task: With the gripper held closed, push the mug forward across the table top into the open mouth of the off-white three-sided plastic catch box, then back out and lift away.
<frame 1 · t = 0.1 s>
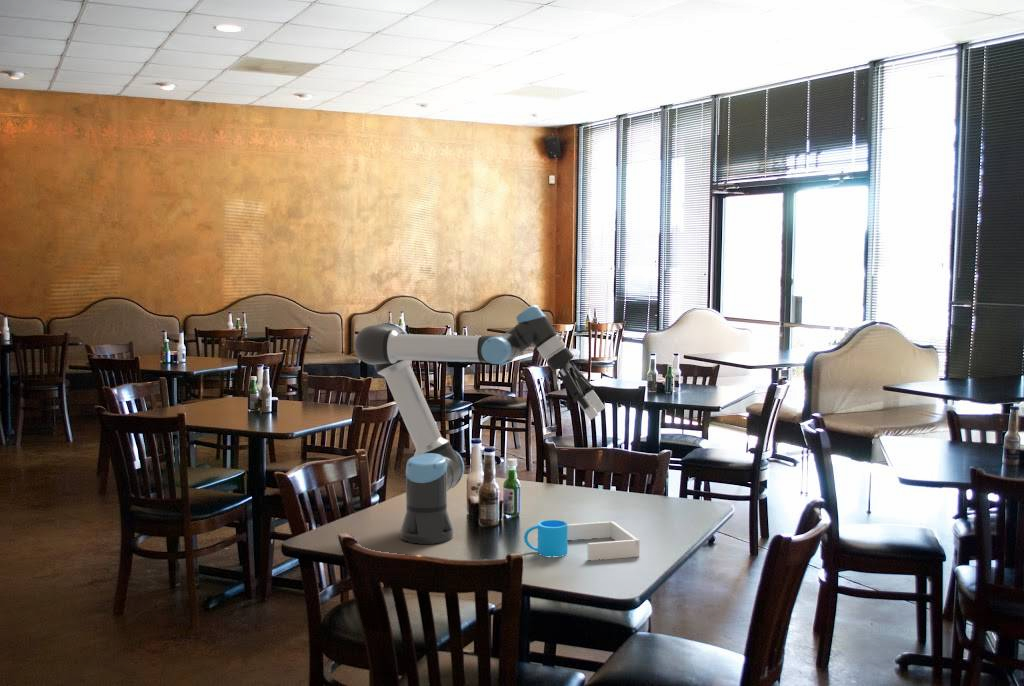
hand: (598, 413, 277), 36 cm above the table, tool tilted 35°, fingers open, 13 cm apart
mug: (545, 553, 263), on the table
catch box: (600, 548, 267), on the table
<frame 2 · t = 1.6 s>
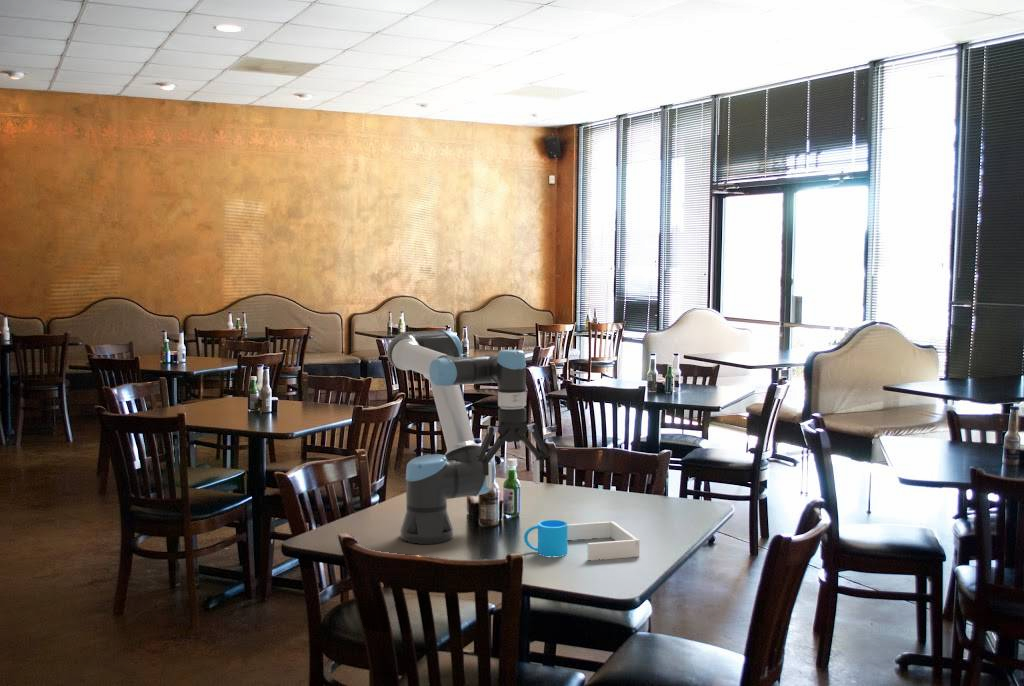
hand: (513, 485, 260), 19 cm above the table, tool pointing down, fingers open, 13 cm apart
nothing on the table moved.
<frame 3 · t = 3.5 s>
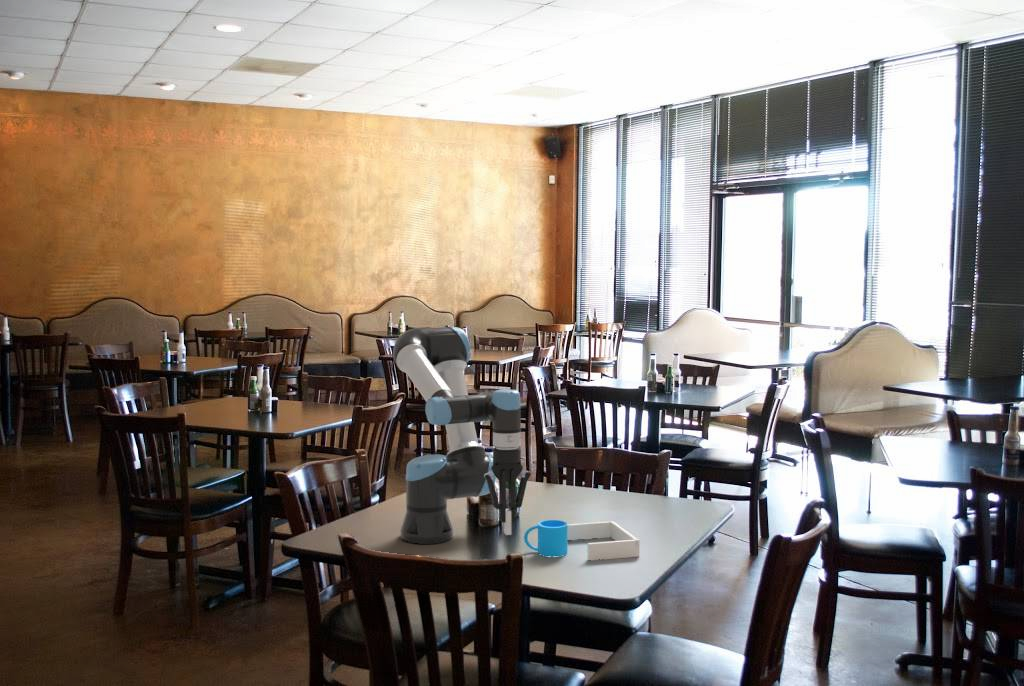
hand: (507, 533, 260), 6 cm above the table, tool pointing down, fingers closed
nothing on the table moved.
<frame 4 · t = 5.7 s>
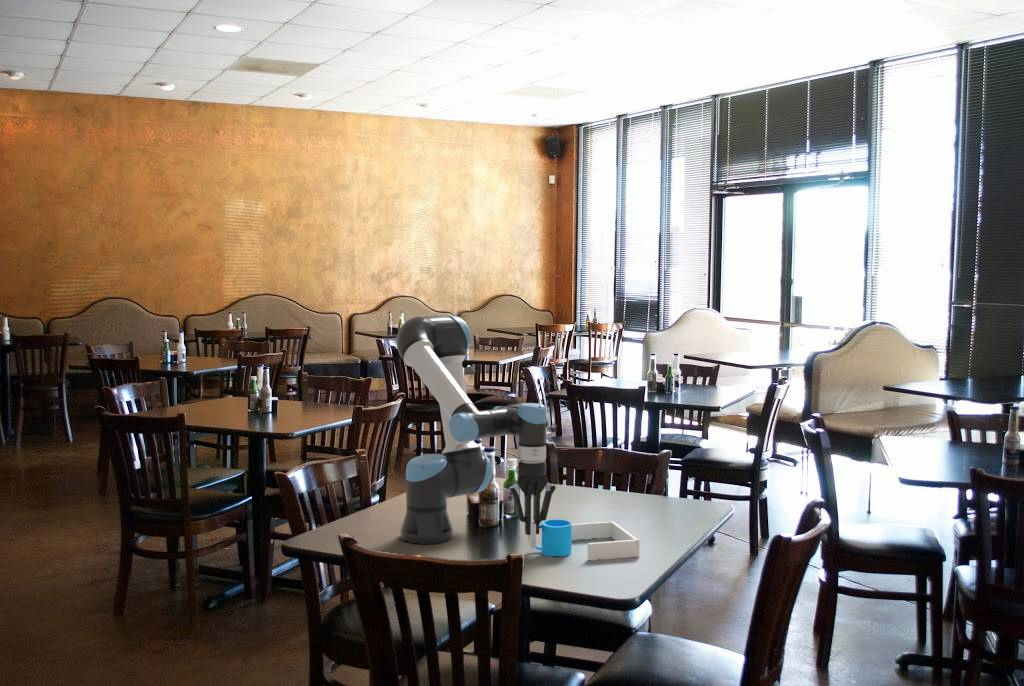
hand: (532, 546, 262), 2 cm above the table, tool pointing down, fingers closed
mug: (549, 552, 263), on the table, touching gripper
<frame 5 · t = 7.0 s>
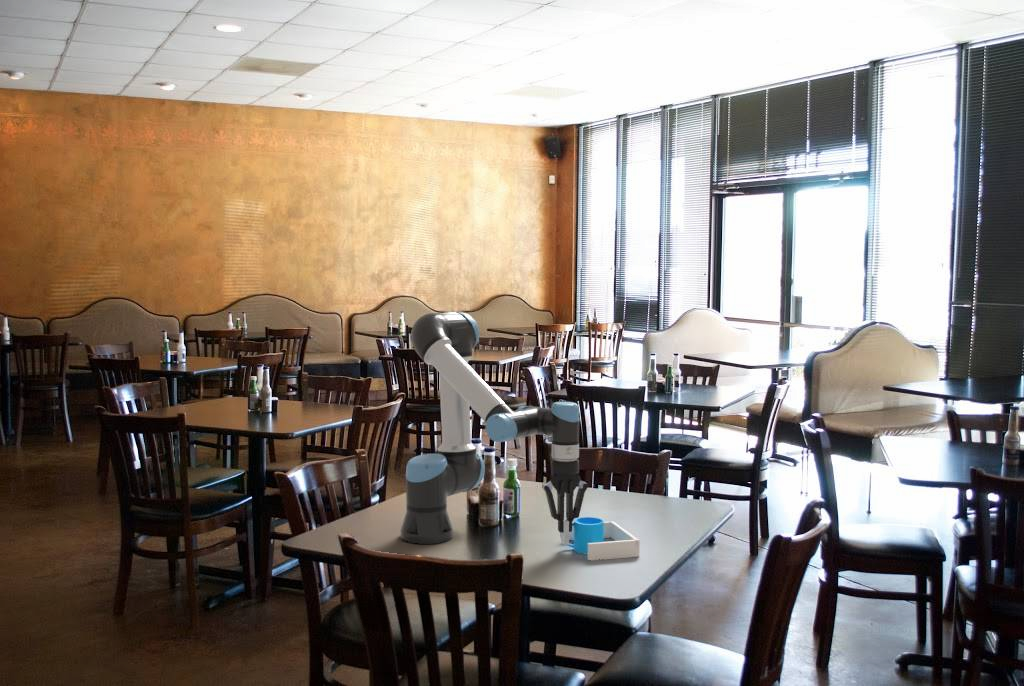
hand: (565, 543, 264), 2 cm above the table, tool pointing down, fingers closed
mug: (581, 550, 266), on the table, touching gripper
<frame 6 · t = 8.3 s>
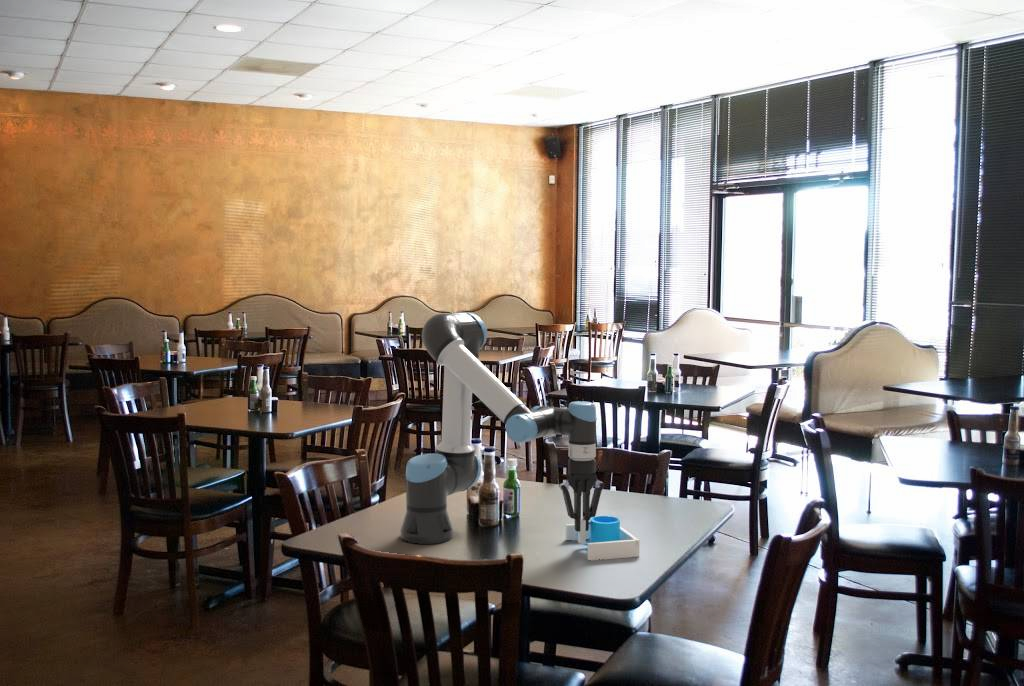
hand: (581, 542, 265), 2 cm above the table, tool pointing down, fingers closed
mug: (597, 548, 267), on the table, touching gripper
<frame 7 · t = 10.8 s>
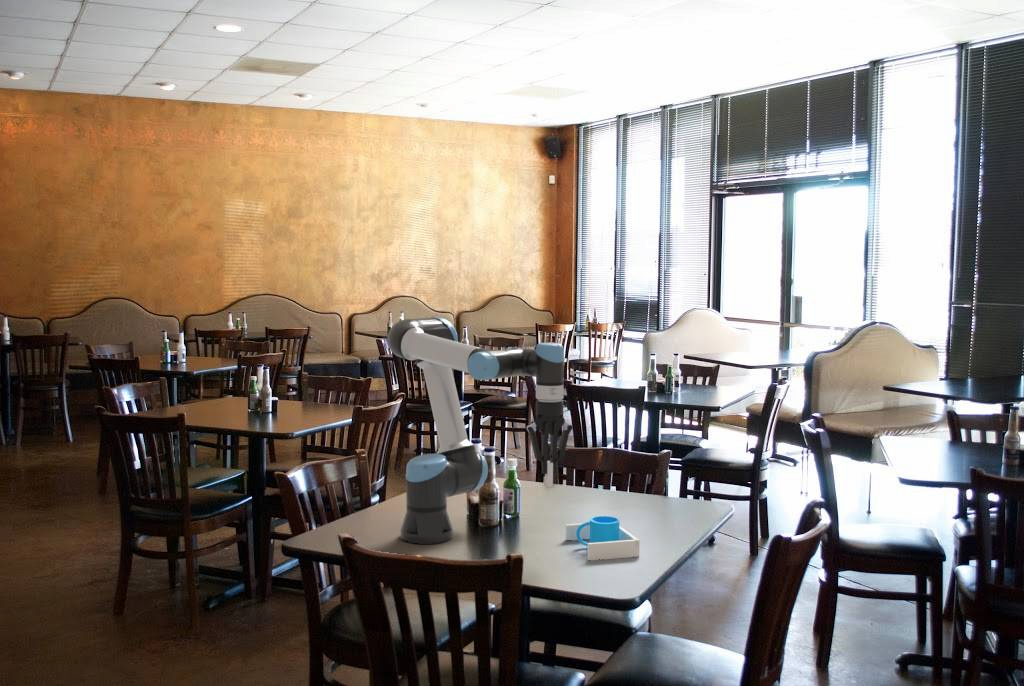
hand: (548, 485, 262), 19 cm above the table, tool pointing down, fingers closed
mug: (597, 549, 267), on the table
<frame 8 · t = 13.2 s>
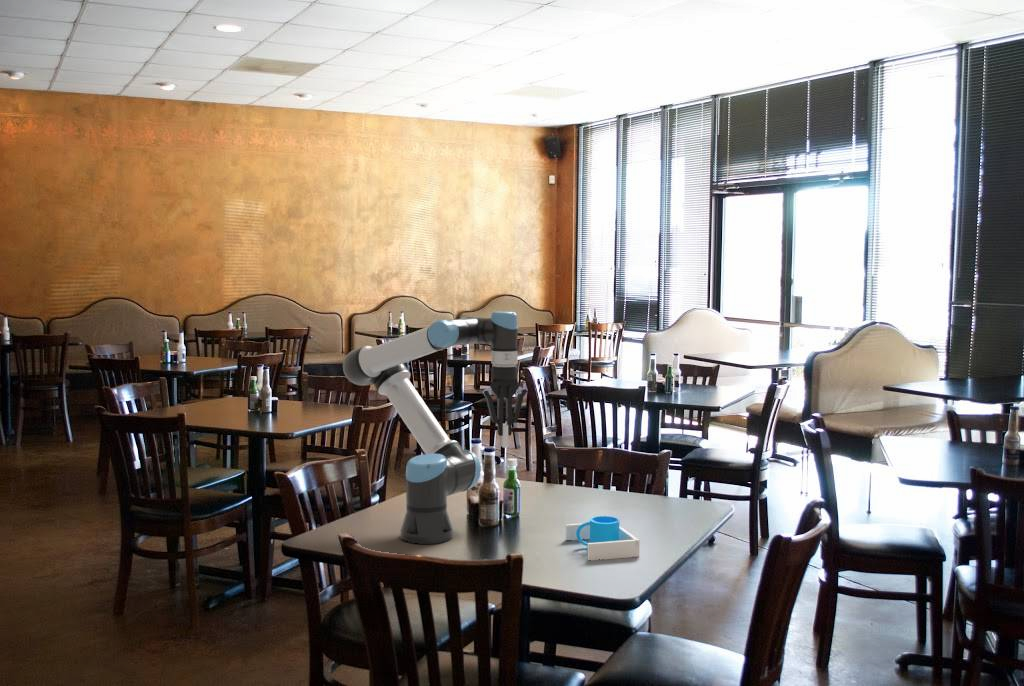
hand: (504, 446, 277), 26 cm above the table, tool pointing down, fingers closed
nothing on the table moved.
at the end: mug inside the target area on the catch box (2.6 cm from its centre), point 0.0 cm above the catch box's base; mug tilted 0° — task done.
